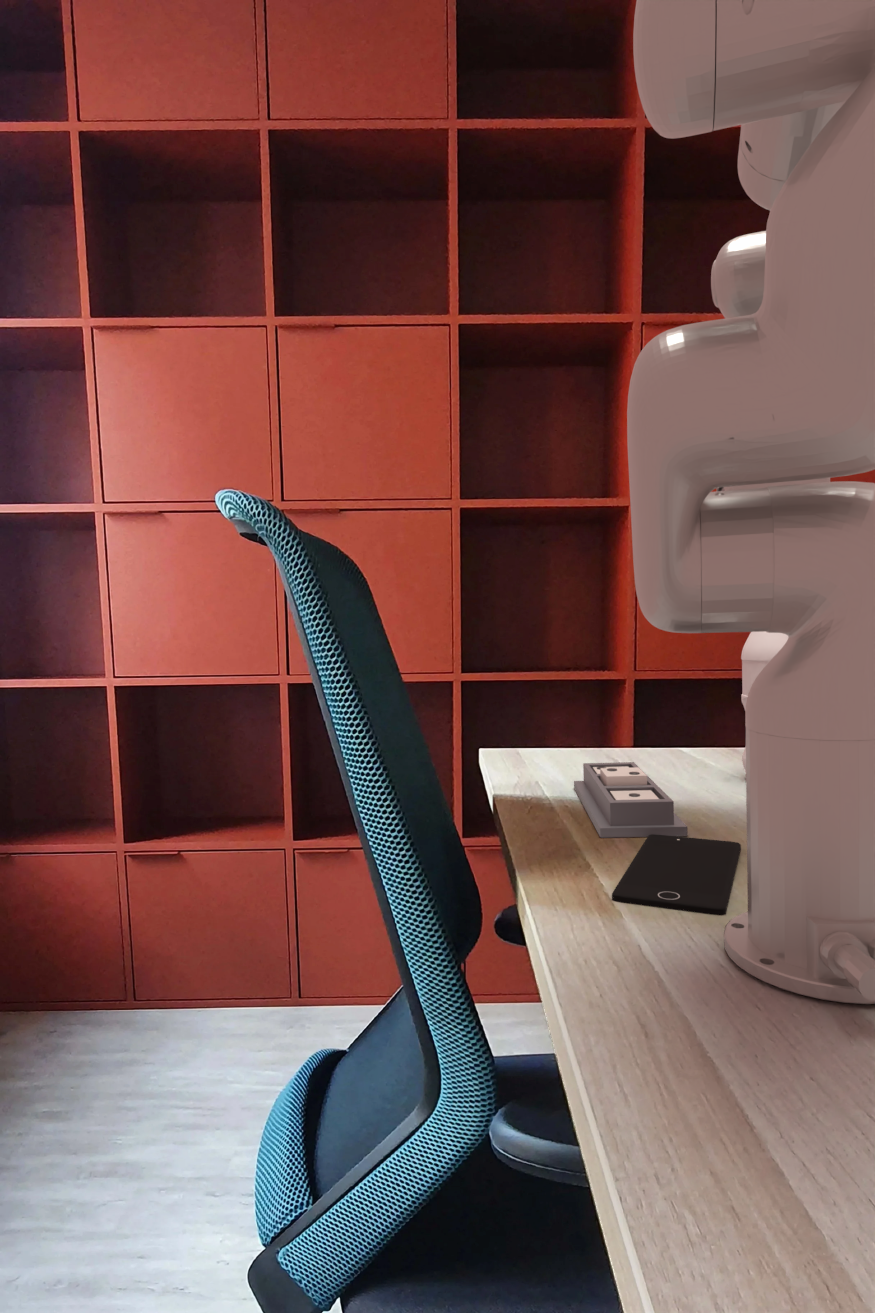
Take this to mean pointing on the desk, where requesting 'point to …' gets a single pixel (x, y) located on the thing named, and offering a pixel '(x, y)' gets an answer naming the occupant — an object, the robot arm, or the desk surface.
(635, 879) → the cell phone
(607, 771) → the tile two
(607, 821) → the tile tray
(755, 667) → the water bottle
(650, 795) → the tile one
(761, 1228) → the desk surface
